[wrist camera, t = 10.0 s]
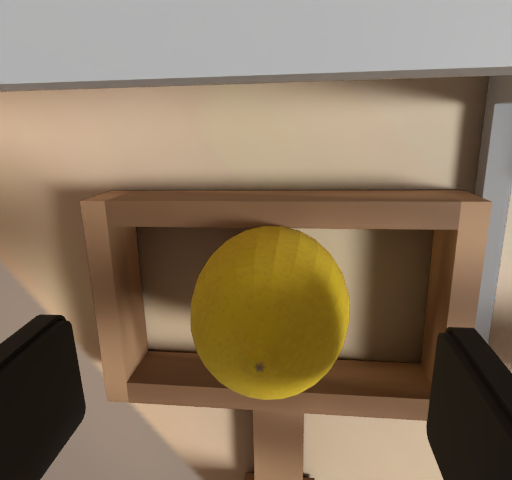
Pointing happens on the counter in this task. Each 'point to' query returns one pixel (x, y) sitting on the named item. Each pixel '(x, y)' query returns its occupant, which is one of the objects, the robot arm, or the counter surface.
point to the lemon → (269, 313)
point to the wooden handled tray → (290, 216)
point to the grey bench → (277, 59)
